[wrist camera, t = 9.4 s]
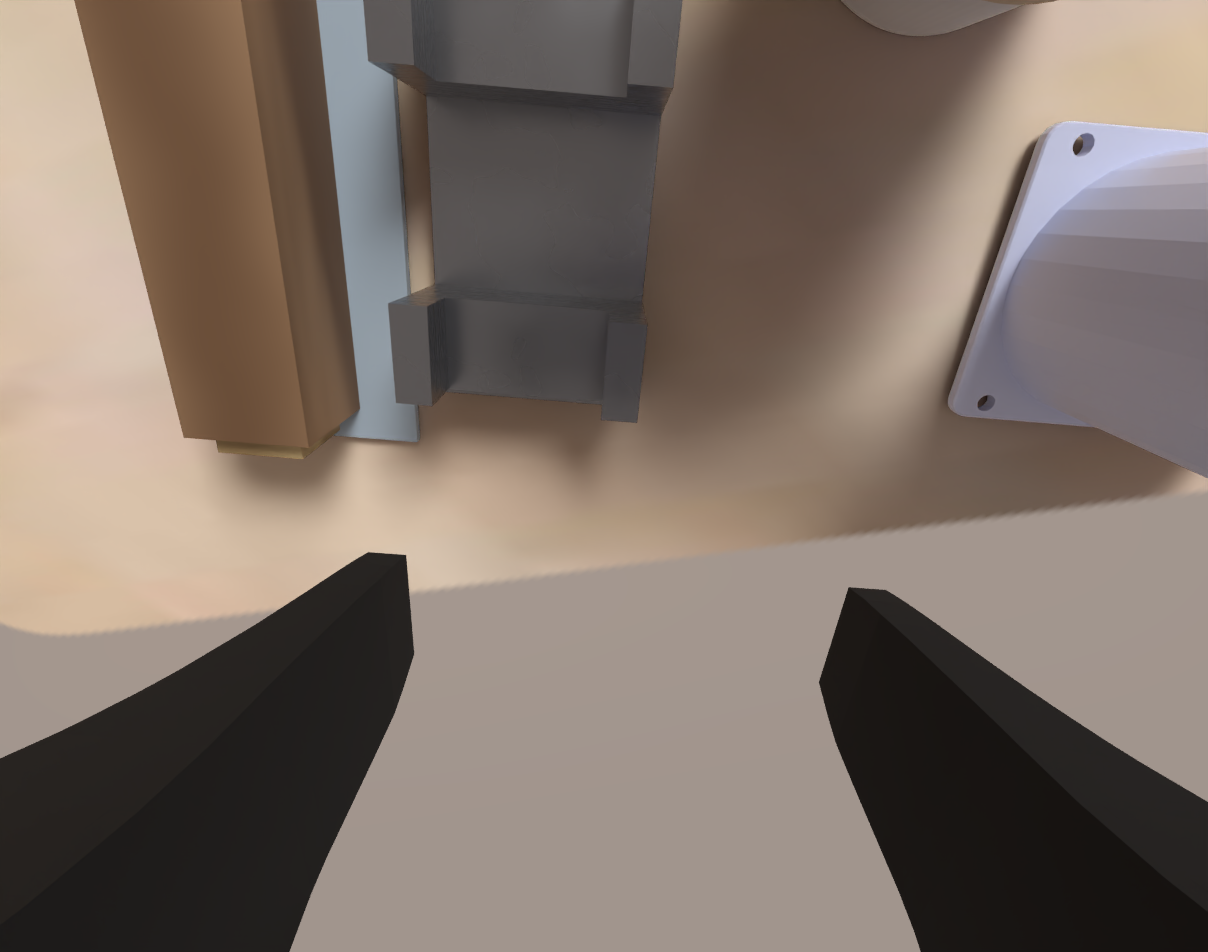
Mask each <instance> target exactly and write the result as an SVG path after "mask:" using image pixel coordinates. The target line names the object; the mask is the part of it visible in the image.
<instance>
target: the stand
mask: <svg viewBox="0 0 1208 952" xmlns="http://www.w3.org/2000/svg"><path fill="white" fill-rule="evenodd" d="M363 5H364V17H365V29H366V42H367V54H368V61H369V62H370V63H372V64H374V65H375V66H377V67H379V68H380V69H382V70H384V71H385V72H387V73H389V74H391V75H392V76H394V77H396V78H397V79H399V80H401V81H402V82H404V83H406V84H407V85H409V86H411V87H412V88H414V89H416V90H418V91H419V92H421V93H423V94H424V95H426V99H427V121H428V142H429V164H430V185H431V207H432V228H433V250H434V271H435V285H433V286H430V287H427V288H425V289H422V290H420V291H417V292H415V293H412V294H410V295H407V296H405V297H402V298H400V299H397V300H395V301H392V302H390V303H388V312H389V324H390V336H391V349H392V361H393V373H394V386H395V398H396V403H400V404H412V405H424V406H433V405H434V404H435V403H436V402H437V401H438V400H439V399H440V398H441V396H442V395H443V394H444V393H445V392H454V393H466V394H478V395H490V396H503V397H515V398H527V399H539V400H551V401H564V402H576V403H588V404H600V405H602V413H601V420H608V421H621V422H633V423H637V418H638V409H639V400H640V390H641V381H642V372H643V363H644V353H645V344H646V335H647V321H646V317H645V312H644V308H643V304H642V296H643V286H644V277H645V267H646V257H647V247H648V237H649V227H650V218H651V208H652V198H653V188H654V178H655V168H656V159H657V149H658V139H659V129H660V119H661V115H662V112H663V110H664V108H665V105H666V103H667V101H668V98H669V96H670V94H671V91H672V89H673V84H674V74H675V65H676V56H677V47H678V37H679V28H680V19H681V9H682V0H363Z"/></svg>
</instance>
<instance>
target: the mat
mask: <svg viewBox="0 0 1208 952" xmlns="http://www.w3.org/2000/svg"><path fill="white" fill-rule="evenodd" d="M316 1H317V10H318V20H319V29H320V38H321V48H322V57H323V66H324V76H325V85H326V94H327V104H328V113H329V122H330V132H331V141H332V150H333V160H334V169H335V178H336V188H337V197H338V206H339V216H340V225H341V234H342V244H343V253H344V262H345V272H346V281H347V290H348V299H349V309H350V318H351V327H352V337H353V346H354V355H355V365H356V374H357V383H358V393H359V402H360V409H359V410H358V411H356V412H355V413H354V414H353V415H351V416H350V417H349V418H347V419H346V420H345V421H343V422H342V423H341V424H340V430H339V431H338V432H337V433H336V434H334V436H346V437H359V438H371V439H383V440H396V441H408V442H418V441H419V440H420V429H419V414H418V405H412V404H400V403H396V398H395V386H394V373H393V361H392V349H391V336H390V324H389V312H388V303H390V302H392V301H395V300H397V299H400V298H402V297H405V296H407V295H410V294H411V290H410V274H409V259H408V243H407V228H406V212H405V196H404V181H403V165H402V150H401V134H400V119H399V103H398V88H397V78H396V77H394V76H392V75H391V74H389V73H387V72H385V71H384V70H382V69H380V68H379V67H377V66H375V65H374V64H372V63H370V62H369V61H368V54H367V42H366V29H365V17H364V5H363V0H316Z"/></svg>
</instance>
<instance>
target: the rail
mask: <svg viewBox="0 0 1208 952" xmlns="http://www.w3.org/2000/svg"><path fill="white" fill-rule="evenodd" d="M74 1H75V5H76V9H77V13H78V17H79V21H80V25H81V29H82V33H83V37H84V41H85V45H86V49H87V53H88V57H89V61H90V65H91V69H92V73H93V77H94V81H95V85H96V89H97V93H98V97H99V101H100V105H101V109H102V113H103V117H104V121H105V125H106V129H107V133H108V137H109V141H110V145H111V149H112V153H113V157H114V161H115V165H116V169H117V173H118V177H119V181H120V185H121V189H122V193H123V197H124V201H125V205H126V209H127V213H128V217H129V220H130V224H131V228H132V232H133V236H134V240H135V244H136V248H137V252H138V256H139V260H140V264H141V268H142V272H143V276H144V280H145V284H146V288H147V292H148V296H149V300H150V304H151V308H152V312H153V316H154V320H155V324H156V328H157V332H158V336H159V340H160V344H161V348H162V352H163V356H164V360H165V364H166V368H167V372H168V376H169V380H170V384H171V388H172V392H173V396H174V400H175V404H176V408H177V412H178V416H179V420H180V424H181V428H182V432H183V436H184V438H195V439H208V440H216V443H217V448H218V452H222V453H234V454H246V455H258V456H270V457H282V458H294V459H304V458H305V457H306V456H308V455H309V454H310V453H311V452H313V451H314V450H315V449H317V448H318V447H319V446H320V445H322V444H323V443H324V442H325V441H327V440H328V439H329V438H331V437H332V436H333V435H334V434H336V433H337V432H338V431H339V430H340V424H341V423H342V422H343V421H345V420H346V419H347V418H349V417H350V416H351V415H353V414H354V413H355V412H356V411H358V410H359V409H360V402H359V393H358V383H357V374H356V365H355V355H354V346H353V337H352V327H351V318H350V309H349V299H348V290H347V281H346V272H345V262H344V253H343V244H342V234H341V225H340V216H339V206H338V197H337V188H336V178H335V169H334V160H333V150H332V141H331V132H330V122H329V113H328V104H327V94H326V85H325V76H324V66H323V57H322V48H321V38H320V29H319V20H318V10H317V1H316V0H74Z"/></svg>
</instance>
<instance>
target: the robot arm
mask: <svg viewBox="0 0 1208 952" xmlns="http://www.w3.org/2000/svg"><path fill="white" fill-rule="evenodd" d="M1079 136H1081V137H1082V139H1083V147H1082V149H1081V151H1080V152H1079V153H1078V154H1077V155H1075V154H1074V152H1073V144H1074V142H1075V140H1076V139H1077V138H1078V137H1079ZM985 395H987V396H988V398H987V401H986V403H985V404H984V405H982V406H981V407H977V404H978V401H979V400H980V398H982V397H983V396H985ZM948 406H949V408H950V409H951V410H952V411H953V412H954V413H956V414H958V415H960V416H964V417H975V418H988V419H1000V420H1012V421H1024V422H1036V423H1048V424H1061V425H1073V426H1085V427H1096V428H1098V429H1101V430H1103V431H1105V432H1107V433H1109V434H1112V435H1114V436H1116V437H1118V438H1120V439H1123V440H1125V441H1127V442H1129V443H1131V444H1134V445H1136V446H1138V447H1140V448H1142V449H1145V450H1147V451H1149V452H1151V453H1153V454H1156V455H1158V456H1160V457H1162V458H1164V459H1167V460H1169V461H1171V462H1173V463H1175V464H1177V465H1180V466H1182V467H1184V468H1186V469H1188V470H1191V471H1193V472H1195V473H1197V474H1199V475H1202V476H1204V477H1206V478H1208V133H1203V132H1192V131H1180V130H1169V129H1158V128H1146V127H1135V126H1123V125H1112V124H1100V123H1089V122H1077V121H1068V122H1061V123H1056V124H1054V125H1052V126H1050V127H1048V128H1047V129H1046V130H1045V131H1044V132H1043V133H1042V134H1041V135H1040V137H1039V139H1038V141H1037V143H1036V146H1035V149H1034V152H1033V155H1032V158H1031V160H1030V163H1029V166H1028V169H1027V172H1026V175H1025V178H1024V181H1023V184H1022V186H1021V189H1020V192H1019V195H1018V198H1017V201H1016V204H1015V207H1014V210H1013V212H1012V215H1011V218H1010V221H1009V224H1008V227H1007V230H1006V233H1005V235H1004V238H1003V241H1002V244H1001V247H1000V250H999V253H998V256H997V259H996V261H995V264H994V267H993V270H992V273H991V276H990V279H989V282H988V285H987V287H986V290H985V293H984V296H983V299H982V302H981V305H980V308H979V311H978V313H977V316H976V319H975V322H974V325H973V328H972V331H971V334H970V337H969V339H968V342H967V345H966V348H965V351H964V354H963V357H962V360H961V363H960V365H959V368H958V371H957V374H956V377H955V380H954V383H953V386H952V389H951V391H950V394H949V397H948ZM413 656H414V647H413V634H412V622H411V610H410V599H409V585H408V573H407V561H406V555H398V554H384V553H370V552H368V553H366V554H365V555H363V556H361V557H359V558H358V559H356V560H354V561H353V562H351V563H350V564H348V565H346V566H345V567H343V568H342V569H340V570H339V571H337V572H336V573H334V574H333V575H331V576H330V577H328V578H327V579H325V580H324V581H322V582H320V583H319V584H317V585H316V586H314V587H313V588H311V589H310V590H308V591H307V592H305V593H304V594H302V595H301V596H299V597H298V598H296V599H295V600H293V601H291V602H290V603H288V604H287V605H285V606H284V607H282V608H281V609H279V610H277V611H276V612H274V613H273V614H271V615H270V616H268V617H267V618H265V619H264V620H262V621H260V622H259V623H257V624H256V625H254V626H252V627H251V628H249V629H247V630H246V631H244V632H242V633H241V634H239V635H237V636H236V637H234V638H232V639H231V640H229V641H227V642H226V643H224V644H222V645H221V646H219V647H217V648H215V649H214V650H212V651H210V652H209V653H207V654H205V655H204V656H202V657H200V658H199V659H197V660H195V661H194V662H192V663H190V664H188V665H187V666H185V667H183V668H182V669H180V670H179V671H176V672H175V673H173V674H171V675H169V676H167V677H166V678H164V679H162V680H160V681H158V682H157V683H155V684H153V685H151V686H149V687H147V688H145V689H143V690H142V691H140V692H138V693H136V694H134V695H132V696H130V697H128V698H126V699H124V700H122V701H120V702H119V703H116V704H114V705H112V706H110V707H108V708H106V709H105V710H103V711H101V712H99V713H97V714H95V715H93V716H91V717H89V718H87V719H85V720H83V721H81V722H79V723H77V724H75V725H73V726H70V727H68V728H66V729H64V730H63V731H60V732H58V733H56V734H54V735H52V736H49V737H47V738H45V739H43V740H40V741H38V742H36V743H34V744H32V745H29V746H27V747H25V748H23V749H21V750H18V751H16V752H14V753H11V754H9V755H7V756H5V757H3V758H0V952H289V951H290V949H291V946H292V943H293V941H294V938H295V935H296V932H297V930H298V927H299V924H300V922H301V919H302V916H303V914H304V911H305V908H306V906H307V903H308V900H309V898H310V895H311V892H312V890H313V888H314V886H315V883H316V881H317V879H318V876H319V874H320V872H321V869H322V867H323V865H324V862H325V860H326V858H327V856H328V853H329V851H330V849H331V847H332V845H333V843H334V841H335V839H336V837H337V834H338V832H339V830H340V828H341V826H342V824H343V822H344V820H345V817H346V816H347V813H348V811H349V809H350V807H351V805H352V803H353V801H354V799H355V797H356V794H357V792H358V790H359V788H360V786H361V784H362V782H363V780H364V778H365V776H366V773H367V771H368V769H369V767H370V765H371V763H372V761H373V759H374V757H375V754H376V752H377V750H378V748H379V746H380V744H381V741H382V739H383V737H384V735H385V733H386V731H387V729H388V726H389V724H390V722H391V720H392V718H393V716H394V713H395V711H396V708H397V705H398V702H399V699H400V696H401V693H402V690H403V687H404V684H405V681H406V678H407V675H408V672H409V669H410V665H411V662H412V659H413ZM819 684H820V688H821V692H822V695H823V699H824V703H825V707H826V711H827V714H828V718H829V721H830V725H831V728H832V731H833V735H834V738H835V741H836V744H837V747H838V749H839V752H840V754H841V756H842V759H843V761H844V764H845V766H846V769H847V771H848V773H849V775H850V778H851V781H852V783H853V785H854V788H855V790H856V792H857V795H858V797H859V800H860V802H861V804H862V807H863V809H864V811H865V814H866V816H867V818H868V821H869V823H870V825H871V828H872V830H873V832H874V835H875V837H876V839H877V842H878V844H879V846H880V849H881V851H882V853H883V856H884V858H885V860H886V863H887V865H888V867H889V870H890V872H891V874H892V877H893V879H894V881H895V884H896V886H897V888H898V891H899V893H900V896H901V898H902V901H903V904H904V906H905V909H906V911H907V914H908V916H909V919H910V921H911V924H912V927H913V929H914V932H915V935H916V938H917V941H918V944H919V948H920V951H921V952H1208V802H1207V801H1205V800H1203V799H1202V798H1200V797H1198V796H1196V795H1195V794H1193V793H1192V792H1190V791H1188V790H1186V789H1185V788H1183V787H1181V786H1180V785H1178V784H1176V783H1174V782H1173V781H1171V780H1169V779H1168V778H1166V777H1164V776H1162V775H1161V774H1159V773H1158V772H1156V771H1154V770H1152V769H1150V768H1149V767H1147V766H1146V765H1144V764H1142V763H1141V762H1139V761H1137V760H1136V759H1134V758H1133V757H1131V756H1129V755H1128V754H1126V753H1124V752H1123V751H1121V750H1120V749H1118V748H1116V747H1115V746H1113V745H1112V744H1110V743H1108V742H1107V741H1105V740H1104V739H1102V738H1101V737H1099V736H1098V735H1096V734H1095V733H1093V732H1092V731H1090V730H1089V729H1087V728H1085V727H1084V726H1082V725H1081V724H1079V723H1078V722H1076V721H1075V720H1073V719H1071V718H1070V717H1069V716H1067V715H1066V714H1064V713H1062V712H1061V711H1060V710H1058V709H1056V708H1055V707H1053V706H1052V705H1050V704H1049V703H1048V702H1046V701H1045V700H1043V699H1042V698H1040V697H1039V696H1037V695H1036V694H1034V693H1033V692H1031V691H1030V690H1028V689H1027V688H1026V687H1024V686H1023V685H1021V684H1020V683H1018V682H1017V681H1016V680H1014V679H1013V678H1011V677H1010V676H1008V675H1007V674H1006V673H1004V672H1003V671H1001V670H1000V669H998V668H997V667H996V666H994V665H993V664H992V663H990V662H989V661H987V660H986V659H984V658H983V657H982V656H980V655H979V654H978V653H976V652H975V651H973V650H972V649H971V648H969V647H968V646H966V645H965V644H964V643H962V642H961V641H959V640H958V639H957V638H955V637H954V636H953V635H951V634H950V633H948V632H947V631H946V630H944V629H942V628H941V627H940V626H939V625H937V624H936V623H934V622H933V621H932V620H930V619H929V618H927V617H926V616H925V615H923V614H922V613H920V612H919V611H917V610H916V609H914V608H913V607H911V606H910V605H909V604H907V603H906V602H904V601H902V600H901V599H899V598H898V597H896V596H895V595H893V594H891V593H890V592H888V591H886V590H878V589H864V588H851V587H849V588H848V591H847V594H846V598H845V601H844V604H843V607H842V610H841V614H840V617H839V620H838V623H837V626H836V630H835V633H834V636H833V639H832V643H831V646H830V649H829V652H828V655H827V658H826V662H825V665H824V668H823V671H822V674H821V678H820V681H819Z"/></svg>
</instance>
